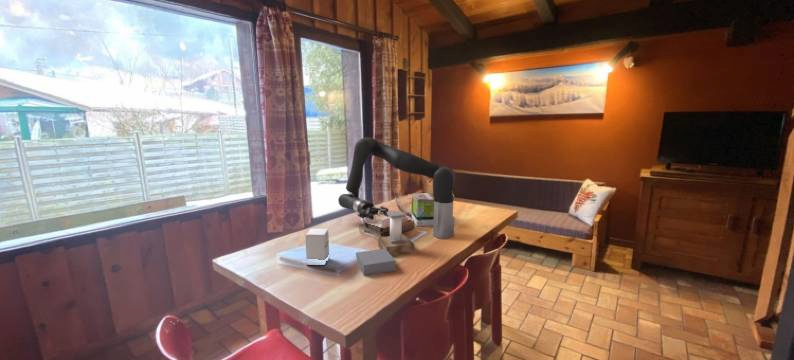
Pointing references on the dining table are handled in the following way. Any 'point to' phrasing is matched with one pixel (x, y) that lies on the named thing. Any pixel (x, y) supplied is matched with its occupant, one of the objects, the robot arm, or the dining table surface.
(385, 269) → the stand
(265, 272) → the dining table surface
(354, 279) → the dining table surface
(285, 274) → the dining table surface
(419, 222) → the tea box
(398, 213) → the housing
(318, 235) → the supplement box
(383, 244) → the stand
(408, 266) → the dining table surface
